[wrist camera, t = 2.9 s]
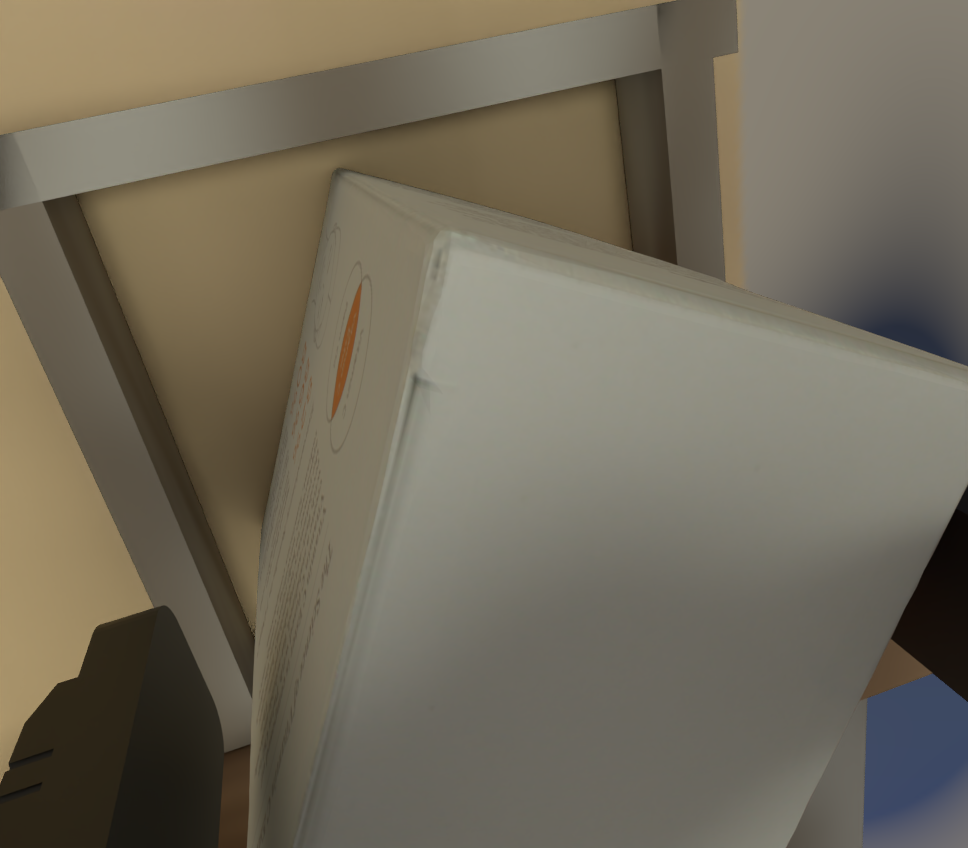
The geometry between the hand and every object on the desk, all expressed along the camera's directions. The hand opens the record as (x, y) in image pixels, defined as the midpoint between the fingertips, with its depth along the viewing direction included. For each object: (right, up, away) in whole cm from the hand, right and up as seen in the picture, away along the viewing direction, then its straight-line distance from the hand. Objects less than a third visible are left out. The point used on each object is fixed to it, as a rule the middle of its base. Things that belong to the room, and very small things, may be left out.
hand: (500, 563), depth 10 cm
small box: (-2, +3, +7) cm, 8 cm away
